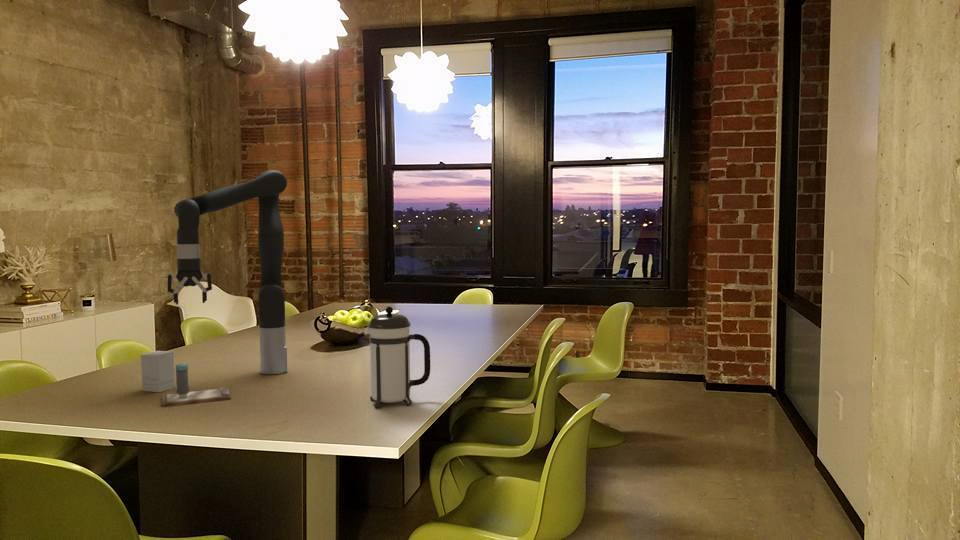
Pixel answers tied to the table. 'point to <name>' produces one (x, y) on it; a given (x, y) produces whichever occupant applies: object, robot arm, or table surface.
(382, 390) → the coffee press
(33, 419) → the table surface
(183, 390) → the marker
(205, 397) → the writing board
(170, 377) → the supplement box
